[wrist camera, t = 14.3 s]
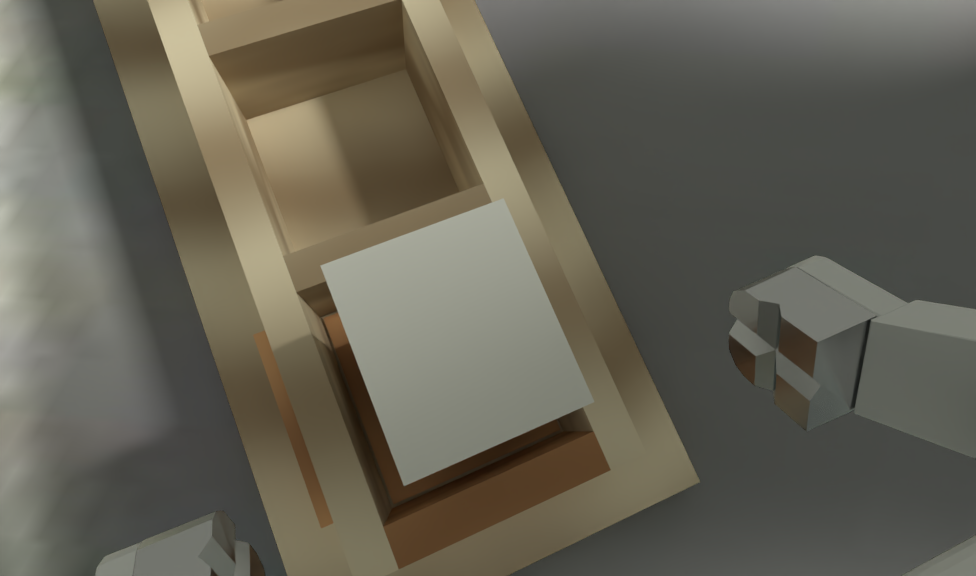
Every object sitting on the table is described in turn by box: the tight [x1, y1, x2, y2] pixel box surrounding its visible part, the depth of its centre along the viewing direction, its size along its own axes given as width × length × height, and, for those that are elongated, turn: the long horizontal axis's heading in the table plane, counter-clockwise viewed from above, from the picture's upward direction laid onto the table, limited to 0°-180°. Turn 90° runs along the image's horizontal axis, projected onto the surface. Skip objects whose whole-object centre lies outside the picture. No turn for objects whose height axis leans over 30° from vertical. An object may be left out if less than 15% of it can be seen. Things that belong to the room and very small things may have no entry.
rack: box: [93, 0, 700, 576], centre depth 19 cm, size 26×12×4 cm, turn 23°
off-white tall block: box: [320, 198, 594, 486], centre depth 15 cm, size 4×4×8 cm
